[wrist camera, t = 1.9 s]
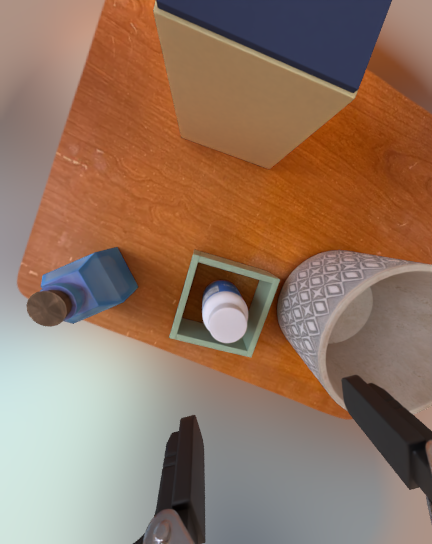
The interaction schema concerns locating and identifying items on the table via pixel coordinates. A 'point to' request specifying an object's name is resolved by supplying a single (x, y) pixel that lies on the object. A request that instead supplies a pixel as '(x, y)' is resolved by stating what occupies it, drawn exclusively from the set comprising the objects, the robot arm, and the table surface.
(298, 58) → the pad
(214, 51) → the stand
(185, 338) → the green hollow square box
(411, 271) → the planter
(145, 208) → the table surface
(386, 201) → the table surface
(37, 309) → the perfume bottle
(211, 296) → the pill bottle
